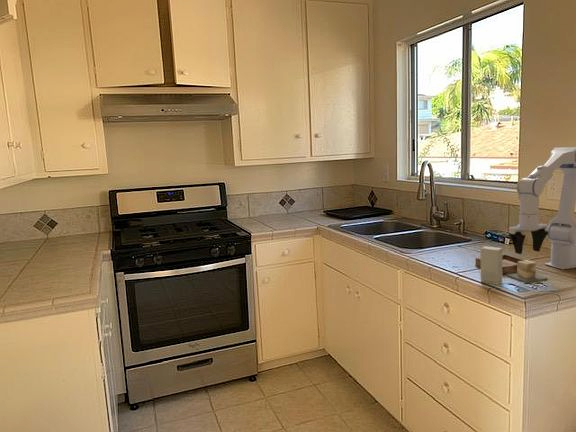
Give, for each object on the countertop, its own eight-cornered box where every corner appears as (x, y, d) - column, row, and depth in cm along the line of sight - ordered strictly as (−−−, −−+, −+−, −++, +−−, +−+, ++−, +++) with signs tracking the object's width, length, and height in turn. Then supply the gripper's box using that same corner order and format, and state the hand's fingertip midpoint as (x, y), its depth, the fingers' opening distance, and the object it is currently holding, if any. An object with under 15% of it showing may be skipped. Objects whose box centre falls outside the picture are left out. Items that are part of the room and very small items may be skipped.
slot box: (505, 261, 179) (505, 253, 178) (533, 270, 165) (533, 262, 165) (475, 265, 175) (475, 258, 174) (501, 275, 162) (502, 267, 161)
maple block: (526, 273, 160) (526, 260, 159) (535, 276, 156) (535, 262, 155) (517, 275, 159) (517, 261, 158) (525, 278, 155) (526, 264, 154)
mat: (526, 272, 163) (526, 271, 163) (547, 279, 154) (547, 278, 154) (506, 276, 160) (506, 274, 160) (526, 283, 152) (526, 281, 152)
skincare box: (502, 282, 154) (503, 247, 152) (498, 285, 151) (499, 250, 149) (484, 279, 158) (485, 245, 156) (479, 282, 155) (480, 248, 153)
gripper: (536, 209, 159) (535, 247, 162) (502, 213, 155) (501, 251, 158) (553, 212, 153) (551, 251, 155) (518, 216, 149) (517, 256, 151)
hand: (527, 252), depth 156 cm, fingers open, 7 cm apart
